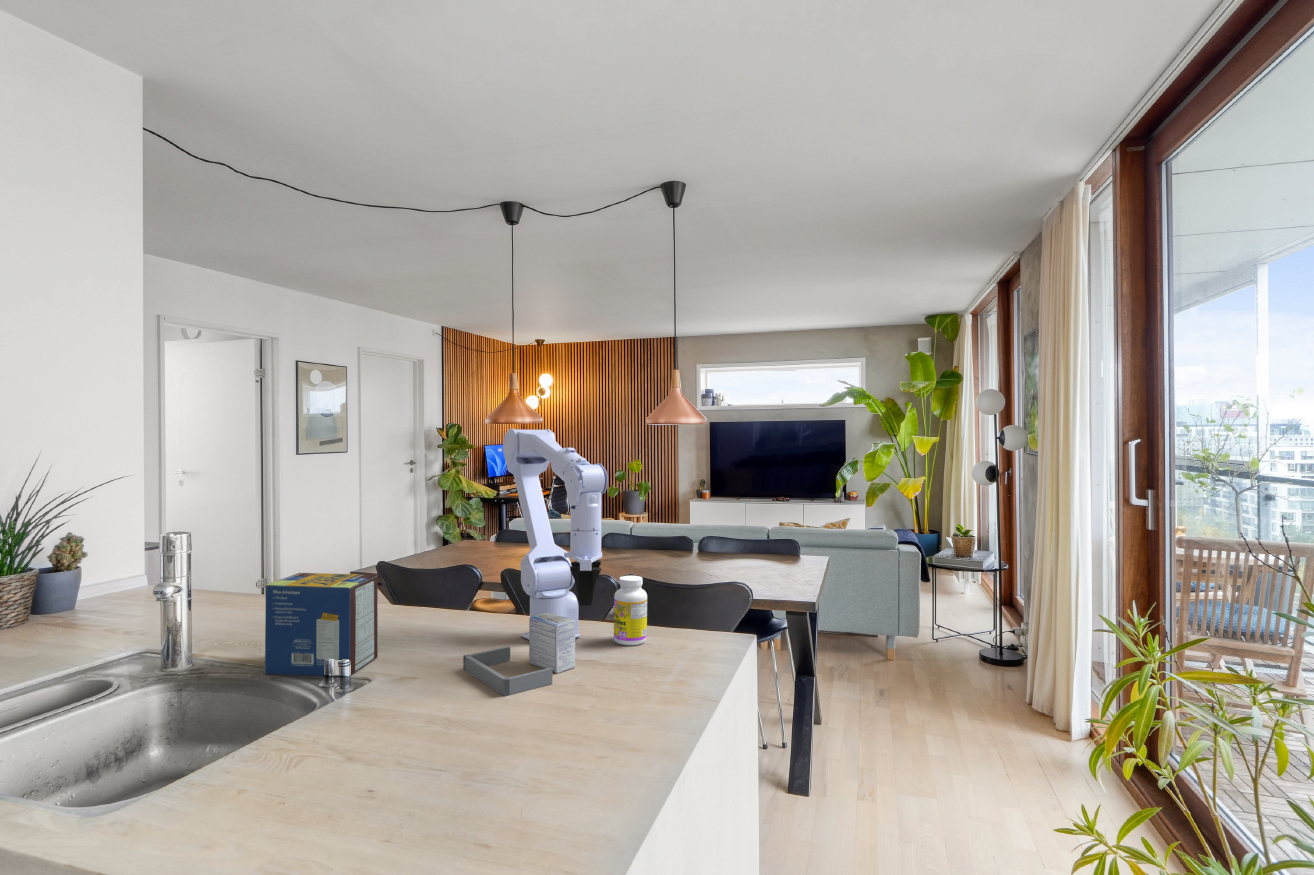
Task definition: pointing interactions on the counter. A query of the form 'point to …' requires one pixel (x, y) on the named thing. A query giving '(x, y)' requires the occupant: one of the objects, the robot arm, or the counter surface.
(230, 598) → the counter surface
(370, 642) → the protein box
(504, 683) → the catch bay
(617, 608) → the supplement bottle
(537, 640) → the medicine box
